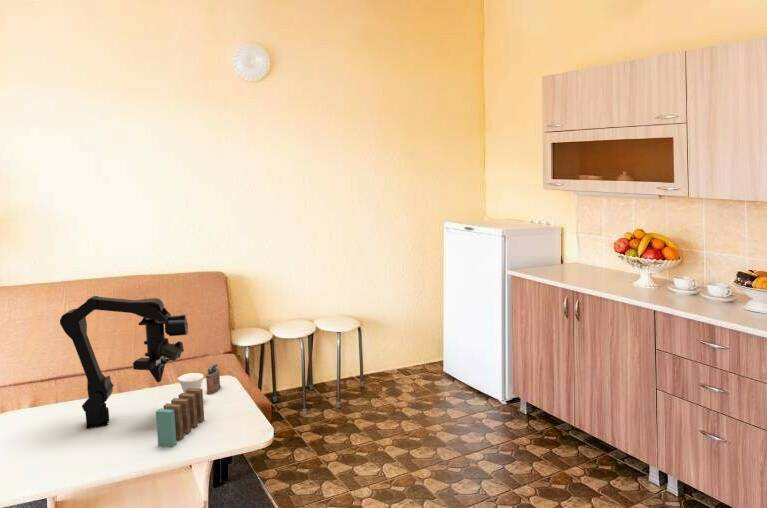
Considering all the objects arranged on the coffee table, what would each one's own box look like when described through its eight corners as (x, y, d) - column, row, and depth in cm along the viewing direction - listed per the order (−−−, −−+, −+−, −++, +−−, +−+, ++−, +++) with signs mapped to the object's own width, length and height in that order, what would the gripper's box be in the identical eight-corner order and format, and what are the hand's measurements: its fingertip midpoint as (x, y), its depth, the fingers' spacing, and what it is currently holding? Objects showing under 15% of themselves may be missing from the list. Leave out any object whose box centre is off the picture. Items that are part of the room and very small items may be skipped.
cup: (178, 400, 222) (176, 373, 220) (205, 396, 224) (203, 370, 223) (178, 409, 213) (176, 381, 212) (205, 405, 216) (204, 378, 214)
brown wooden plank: (194, 428, 197) (192, 396, 195) (180, 427, 198) (178, 395, 196) (197, 425, 199) (195, 393, 197) (183, 424, 200) (181, 392, 198)
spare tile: (173, 447, 184) (170, 412, 182) (158, 445, 185) (155, 411, 183) (176, 444, 186) (174, 409, 184) (161, 442, 187) (159, 408, 185)
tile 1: (201, 422, 201) (199, 390, 200) (187, 421, 202) (185, 390, 201) (204, 420, 203) (202, 388, 202) (190, 419, 204) (188, 388, 203)
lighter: (212, 394, 226) (211, 369, 225) (204, 394, 227) (203, 368, 226) (222, 387, 234) (221, 362, 233) (214, 386, 235) (213, 361, 233)
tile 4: (180, 440, 188) (178, 406, 187) (165, 439, 189) (163, 405, 188) (183, 437, 190) (181, 404, 188) (169, 436, 191) (166, 403, 189)
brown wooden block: (187, 434, 192) (185, 401, 191) (173, 433, 193) (171, 400, 192) (190, 431, 194) (188, 398, 193) (176, 430, 195) (174, 398, 194)
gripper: (161, 345, 190) (165, 393, 192) (192, 330, 208) (194, 373, 211) (130, 344, 193) (133, 391, 195) (162, 329, 211) (165, 372, 213)
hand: (158, 381), depth 203 cm, fingers closed
